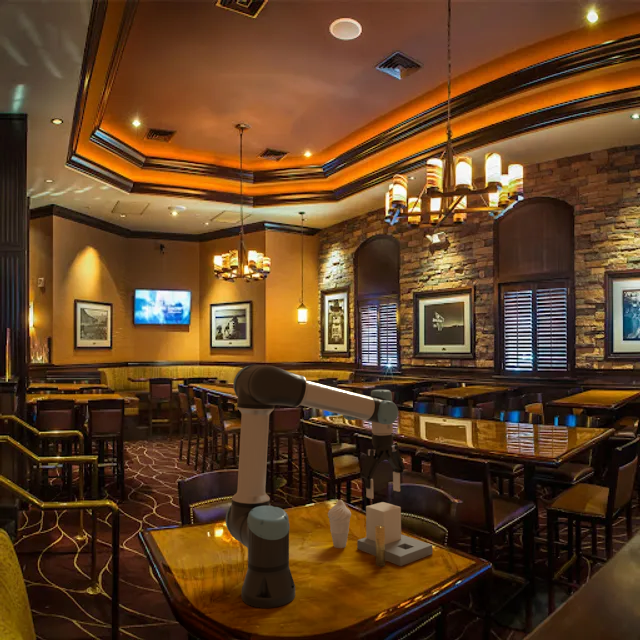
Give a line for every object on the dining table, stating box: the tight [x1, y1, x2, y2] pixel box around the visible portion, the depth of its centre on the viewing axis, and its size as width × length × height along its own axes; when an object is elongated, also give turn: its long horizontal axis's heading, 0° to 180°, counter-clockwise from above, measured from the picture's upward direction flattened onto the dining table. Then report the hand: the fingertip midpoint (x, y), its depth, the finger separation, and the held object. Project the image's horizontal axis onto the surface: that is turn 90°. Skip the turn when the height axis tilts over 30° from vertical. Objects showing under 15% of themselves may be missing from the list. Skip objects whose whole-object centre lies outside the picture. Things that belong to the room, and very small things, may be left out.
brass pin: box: [375, 525, 386, 568], centre depth 173 cm, size 3×3×12 cm
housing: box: [365, 501, 402, 544], centre depth 189 cm, size 9×9×11 cm
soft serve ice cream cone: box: [327, 499, 352, 549], centre depth 190 cm, size 8×8×16 cm
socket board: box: [356, 533, 434, 567], centre depth 184 cm, size 16×20×3 cm
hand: (383, 494), depth 189 cm, fingers open, 13 cm apart
